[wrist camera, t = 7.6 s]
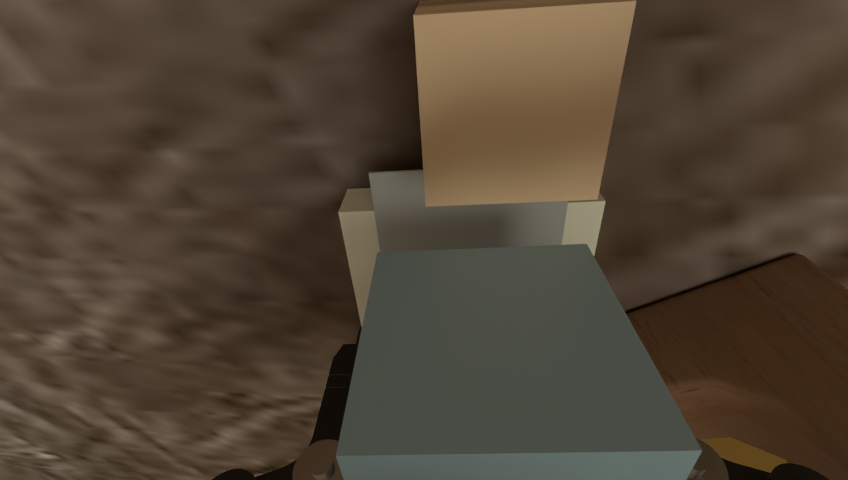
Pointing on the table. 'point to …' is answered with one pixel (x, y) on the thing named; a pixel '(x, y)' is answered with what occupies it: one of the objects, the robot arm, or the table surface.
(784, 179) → the table surface
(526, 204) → the foundation board
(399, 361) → the cube
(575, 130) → the oak block
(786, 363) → the wooden block
